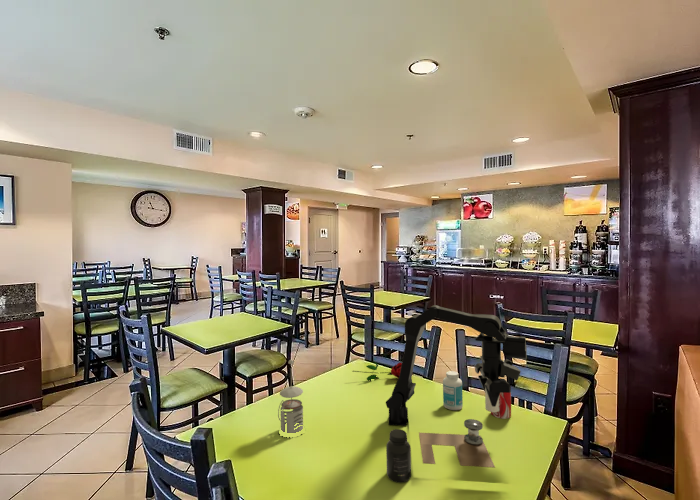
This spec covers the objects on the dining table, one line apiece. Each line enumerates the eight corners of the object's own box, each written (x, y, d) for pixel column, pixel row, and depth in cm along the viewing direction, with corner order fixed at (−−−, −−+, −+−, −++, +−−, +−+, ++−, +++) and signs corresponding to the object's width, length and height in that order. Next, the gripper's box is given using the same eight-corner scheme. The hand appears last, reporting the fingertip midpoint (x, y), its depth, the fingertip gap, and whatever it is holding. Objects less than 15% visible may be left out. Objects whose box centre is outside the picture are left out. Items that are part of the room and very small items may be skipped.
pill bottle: (459, 402, 146) (458, 369, 146) (465, 410, 139) (465, 376, 138) (440, 403, 146) (440, 369, 146) (446, 411, 138) (445, 376, 138)
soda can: (513, 423, 128) (513, 390, 128) (492, 422, 130) (492, 389, 129) (508, 414, 135) (508, 382, 135) (489, 413, 136) (488, 381, 136)
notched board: (423, 468, 103) (423, 463, 103) (418, 436, 120) (418, 432, 120) (495, 472, 101) (495, 467, 101) (480, 440, 118) (480, 435, 118)
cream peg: (487, 412, 114) (487, 387, 114) (484, 406, 118) (483, 382, 118) (500, 412, 113) (500, 387, 113) (496, 406, 117) (496, 382, 117)
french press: (311, 427, 128) (310, 357, 127) (293, 443, 117) (291, 367, 117) (288, 421, 132) (287, 354, 131) (268, 437, 121) (267, 363, 121)
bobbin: (466, 445, 112) (466, 427, 112) (462, 435, 118) (462, 418, 118) (484, 446, 111) (484, 428, 111) (480, 436, 117) (480, 419, 117)
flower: (353, 359, 168) (415, 360, 173) (350, 362, 176) (408, 364, 181) (354, 379, 164) (416, 380, 168) (350, 382, 172) (410, 383, 177)
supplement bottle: (384, 468, 103) (384, 427, 103) (407, 467, 104) (407, 426, 104) (389, 484, 96) (388, 440, 96) (414, 482, 97) (413, 439, 97)
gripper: (528, 365, 105) (529, 418, 105) (507, 347, 124) (508, 392, 124) (489, 364, 106) (490, 416, 107) (474, 346, 125) (474, 391, 125)
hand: (491, 403), depth 116 cm, fingers closed on cream peg, 4 cm apart
